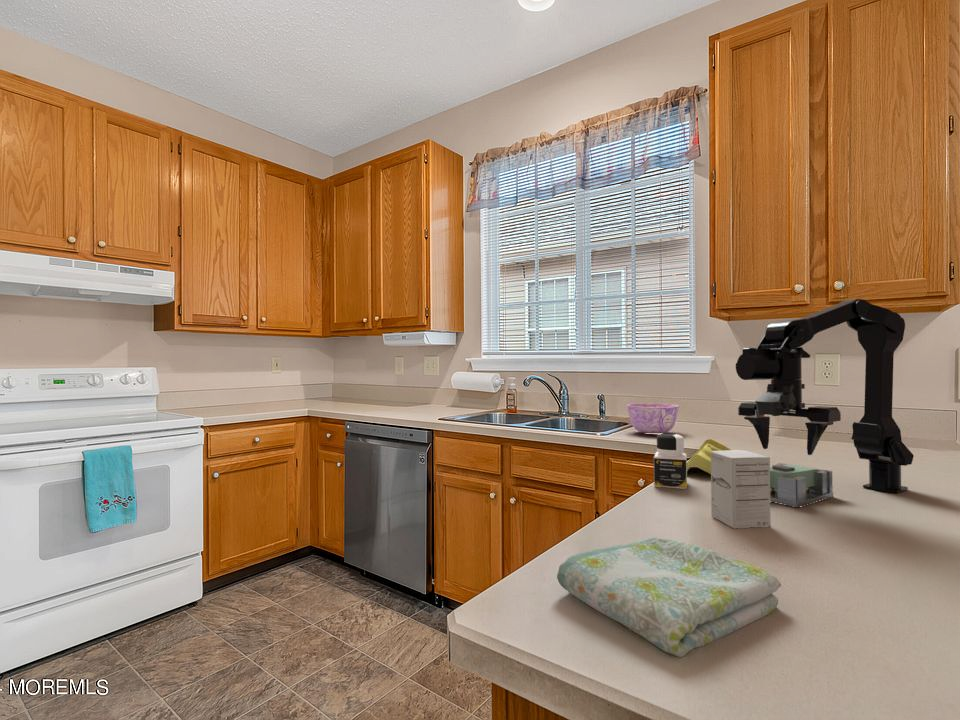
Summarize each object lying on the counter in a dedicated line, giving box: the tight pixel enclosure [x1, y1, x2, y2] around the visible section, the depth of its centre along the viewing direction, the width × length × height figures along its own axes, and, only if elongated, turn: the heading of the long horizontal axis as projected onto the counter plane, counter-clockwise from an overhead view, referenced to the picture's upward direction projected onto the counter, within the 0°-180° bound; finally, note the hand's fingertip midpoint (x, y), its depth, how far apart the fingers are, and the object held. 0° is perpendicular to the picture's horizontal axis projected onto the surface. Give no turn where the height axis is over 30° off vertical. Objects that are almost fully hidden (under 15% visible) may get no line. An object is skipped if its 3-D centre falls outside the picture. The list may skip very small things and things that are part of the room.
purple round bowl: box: [626, 402, 680, 434], centre depth 209 cm, size 20×20×12 cm
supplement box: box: [710, 449, 772, 529], centre depth 95 cm, size 7×7×13 cm
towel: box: [556, 537, 782, 658], centre depth 64 cm, size 18×21×5 cm
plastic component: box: [687, 438, 732, 475], centre depth 139 cm, size 20×7×10 cm
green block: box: [770, 463, 818, 489], centre depth 112 cm, size 10×6×4 cm, turn 115°
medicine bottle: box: [653, 433, 688, 490], centre depth 124 cm, size 7×7×12 cm
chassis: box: [770, 462, 834, 508], centre depth 112 cm, size 15×11×6 cm
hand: (786, 451), depth 112 cm, fingers open, 9 cm apart
